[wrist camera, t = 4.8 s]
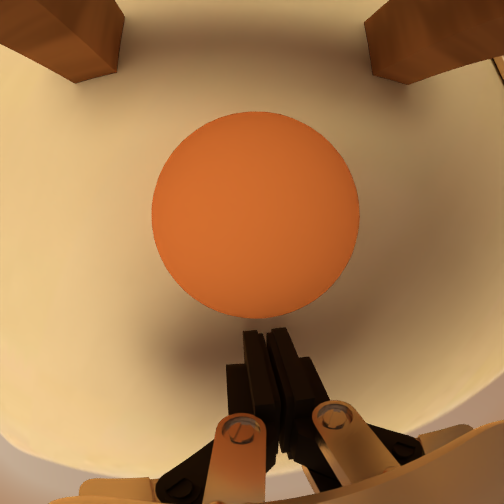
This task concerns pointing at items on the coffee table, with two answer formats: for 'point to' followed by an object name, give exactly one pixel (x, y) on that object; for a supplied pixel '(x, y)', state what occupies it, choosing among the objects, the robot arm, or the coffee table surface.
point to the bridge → (377, 26)
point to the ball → (255, 215)
